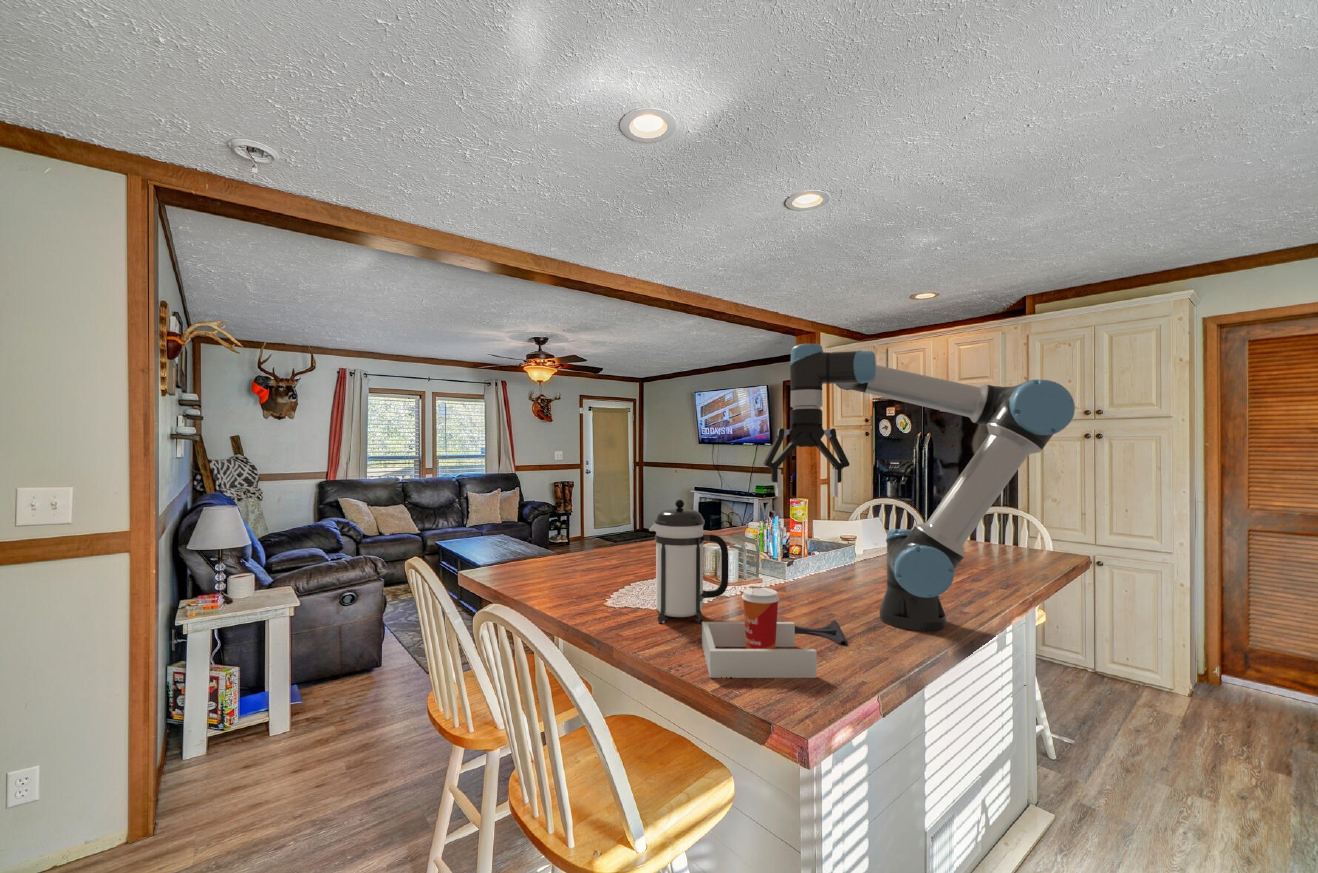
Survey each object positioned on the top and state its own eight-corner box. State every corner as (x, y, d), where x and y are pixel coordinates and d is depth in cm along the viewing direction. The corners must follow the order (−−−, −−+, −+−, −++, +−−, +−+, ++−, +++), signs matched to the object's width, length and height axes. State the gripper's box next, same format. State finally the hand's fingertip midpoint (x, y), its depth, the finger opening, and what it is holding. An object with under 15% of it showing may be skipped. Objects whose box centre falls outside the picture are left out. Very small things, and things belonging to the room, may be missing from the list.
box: (793, 644, 122) (793, 622, 122) (816, 677, 105) (816, 651, 105) (701, 644, 122) (702, 621, 122) (710, 677, 105) (710, 651, 105)
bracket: (776, 623, 139) (775, 612, 139) (837, 627, 136) (837, 615, 136) (778, 644, 125) (778, 632, 125) (847, 648, 122) (847, 636, 122)
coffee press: (682, 631, 131) (682, 504, 131) (638, 616, 142) (638, 499, 143) (730, 616, 142) (730, 499, 143) (685, 603, 154) (686, 495, 155)
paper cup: (737, 653, 117) (737, 587, 117) (773, 652, 118) (773, 586, 118) (746, 668, 109) (746, 597, 110) (784, 667, 110) (784, 596, 110)
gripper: (851, 409, 138) (852, 495, 138) (752, 409, 138) (752, 494, 138) (863, 407, 131) (863, 497, 131) (757, 407, 131) (757, 497, 130)
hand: (806, 496), depth 134 cm, fingers open, 13 cm apart
